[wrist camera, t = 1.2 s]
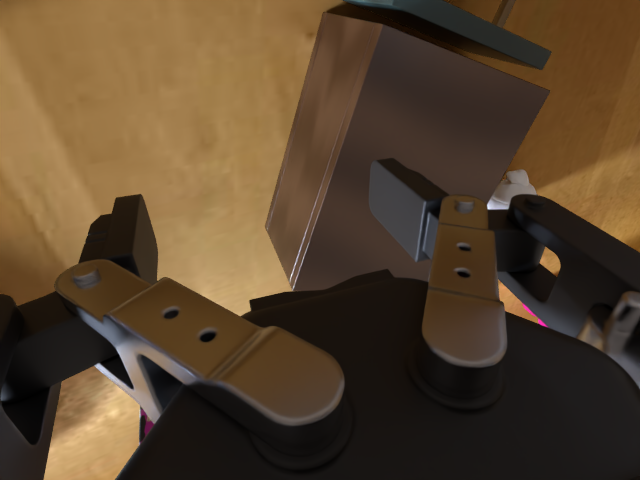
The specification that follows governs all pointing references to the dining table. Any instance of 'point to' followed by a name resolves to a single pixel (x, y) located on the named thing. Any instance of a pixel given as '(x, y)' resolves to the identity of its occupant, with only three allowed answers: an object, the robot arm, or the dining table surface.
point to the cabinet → (385, 144)
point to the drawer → (462, 28)
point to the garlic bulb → (510, 189)
